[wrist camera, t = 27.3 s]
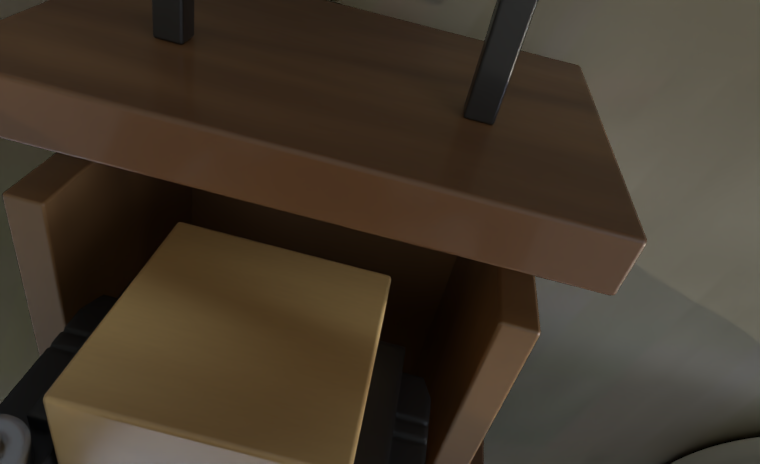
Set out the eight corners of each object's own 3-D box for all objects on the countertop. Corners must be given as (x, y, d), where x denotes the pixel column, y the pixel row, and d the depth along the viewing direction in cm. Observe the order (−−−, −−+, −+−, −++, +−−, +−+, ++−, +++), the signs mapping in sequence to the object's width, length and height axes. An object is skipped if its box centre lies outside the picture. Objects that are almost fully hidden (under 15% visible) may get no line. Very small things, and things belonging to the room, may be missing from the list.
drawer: (148, -286, 12) (-220, -405, 6) (674, -151, 12) (878, -124, 6) (166, 316, 23) (45, 502, 17) (442, 387, 23) (426, 601, 17)
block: (179, 362, 14) (75, 545, 11) (178, 219, 12) (38, 398, 8) (353, 407, 14) (309, 605, 11) (392, 274, 12) (350, 478, 8)
